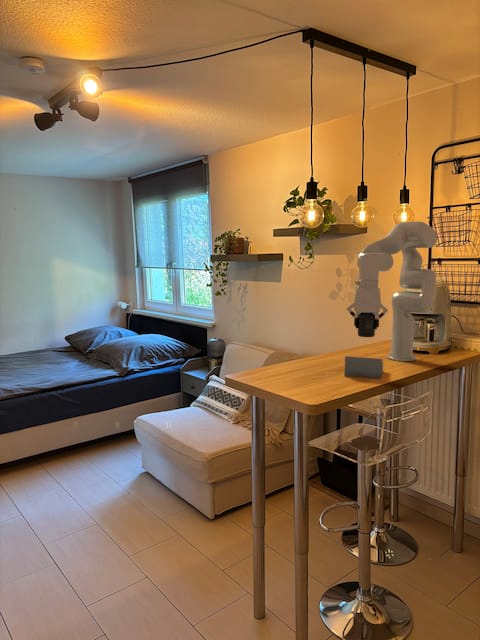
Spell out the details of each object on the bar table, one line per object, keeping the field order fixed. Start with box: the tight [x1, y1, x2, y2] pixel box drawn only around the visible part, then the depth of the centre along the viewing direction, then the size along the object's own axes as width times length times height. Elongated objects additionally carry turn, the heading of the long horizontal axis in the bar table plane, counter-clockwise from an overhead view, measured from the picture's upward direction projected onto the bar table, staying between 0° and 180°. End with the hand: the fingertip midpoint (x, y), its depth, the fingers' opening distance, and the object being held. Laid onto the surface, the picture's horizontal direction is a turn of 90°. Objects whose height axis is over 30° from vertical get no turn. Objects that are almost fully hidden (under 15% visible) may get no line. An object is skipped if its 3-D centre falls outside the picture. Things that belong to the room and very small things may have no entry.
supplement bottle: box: [357, 313, 376, 338], centre depth 187 cm, size 7×7×12 cm
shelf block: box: [344, 355, 384, 380], centre depth 189 cm, size 14×14×8 cm
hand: (366, 328), depth 188 cm, fingers closed on supplement bottle, 6 cm apart
